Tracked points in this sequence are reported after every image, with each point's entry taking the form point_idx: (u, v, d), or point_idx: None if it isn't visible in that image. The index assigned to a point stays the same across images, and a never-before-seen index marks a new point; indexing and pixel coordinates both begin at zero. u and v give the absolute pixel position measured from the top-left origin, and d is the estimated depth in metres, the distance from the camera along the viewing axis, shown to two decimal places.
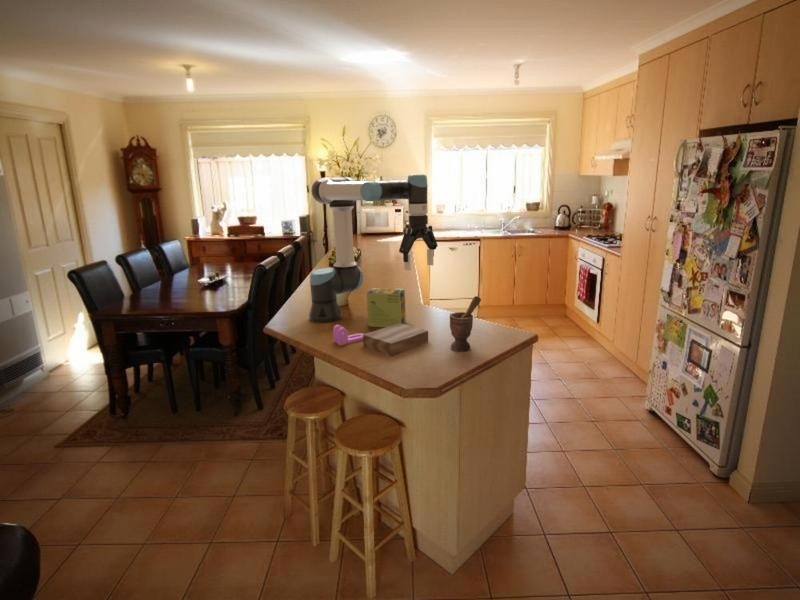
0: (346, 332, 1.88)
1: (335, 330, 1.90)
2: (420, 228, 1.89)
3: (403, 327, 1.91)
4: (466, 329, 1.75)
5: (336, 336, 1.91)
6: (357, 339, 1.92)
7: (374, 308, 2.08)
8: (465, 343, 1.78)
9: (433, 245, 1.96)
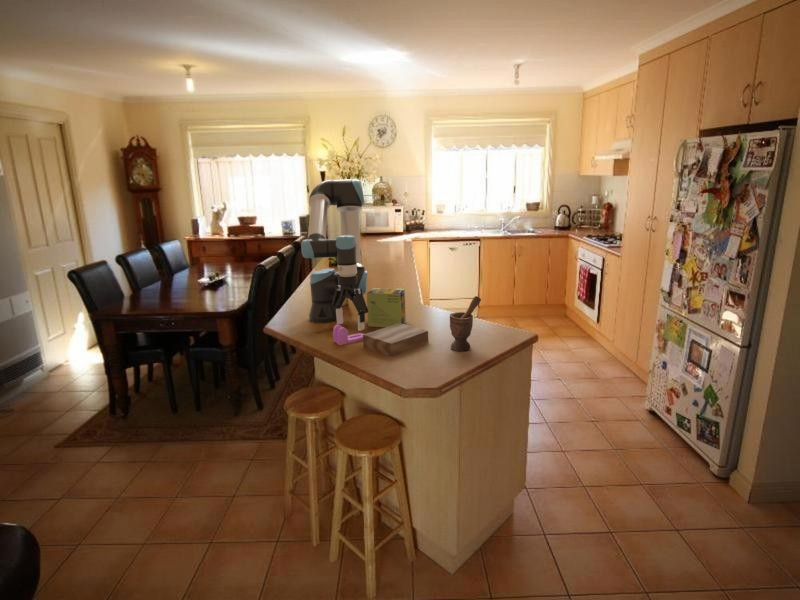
0: (346, 332, 1.88)
1: (335, 330, 1.90)
2: (346, 288, 1.87)
3: (403, 327, 1.91)
4: (466, 329, 1.75)
5: (336, 336, 1.91)
6: (357, 339, 1.92)
7: (374, 308, 2.08)
8: (465, 343, 1.78)
9: (359, 310, 1.84)
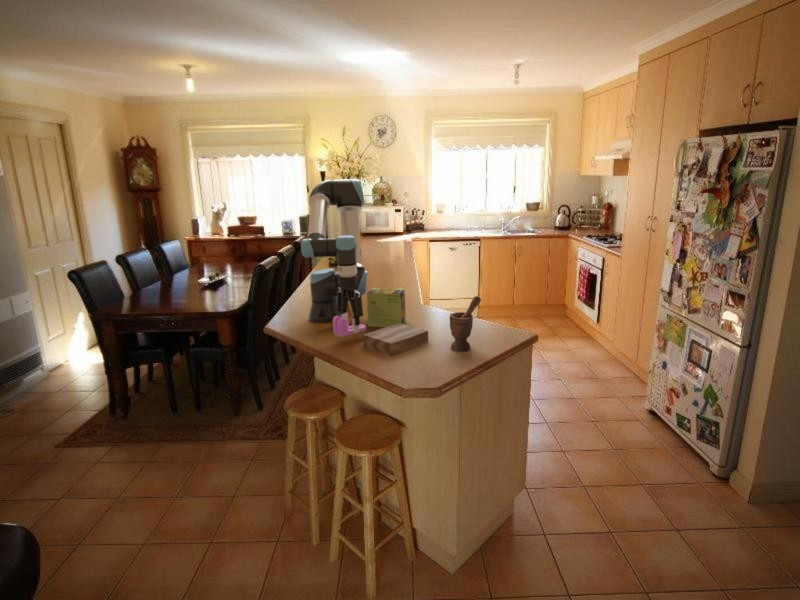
0: (346, 323, 1.88)
1: (335, 321, 1.90)
2: (346, 288, 1.88)
3: (403, 327, 1.91)
4: (466, 329, 1.75)
5: (336, 327, 1.91)
6: None
7: (374, 308, 2.08)
8: (465, 343, 1.78)
9: (354, 314, 1.87)
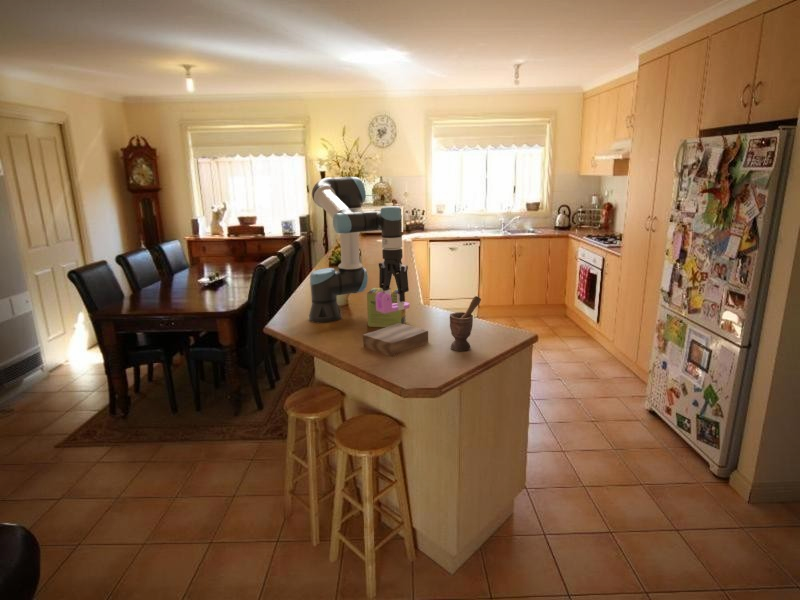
0: (390, 299, 1.78)
1: (378, 297, 1.79)
2: (390, 263, 1.78)
3: (403, 327, 1.91)
4: (466, 329, 1.75)
5: (379, 304, 1.80)
6: None
7: (374, 308, 2.08)
8: (465, 343, 1.78)
9: (399, 289, 1.77)
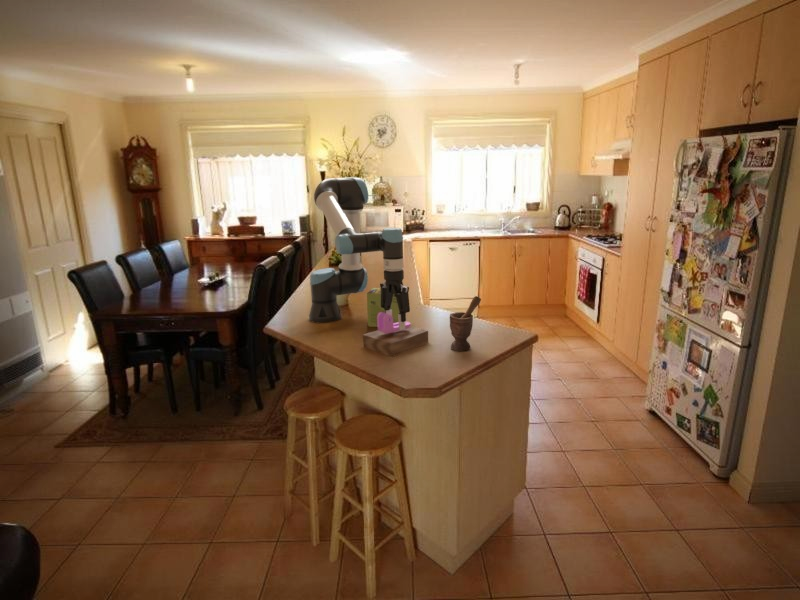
0: (391, 319, 1.80)
1: (379, 317, 1.81)
2: (392, 283, 1.80)
3: None
4: (466, 329, 1.75)
5: (380, 324, 1.82)
6: None
7: (374, 308, 2.08)
8: (465, 343, 1.78)
9: (401, 310, 1.79)
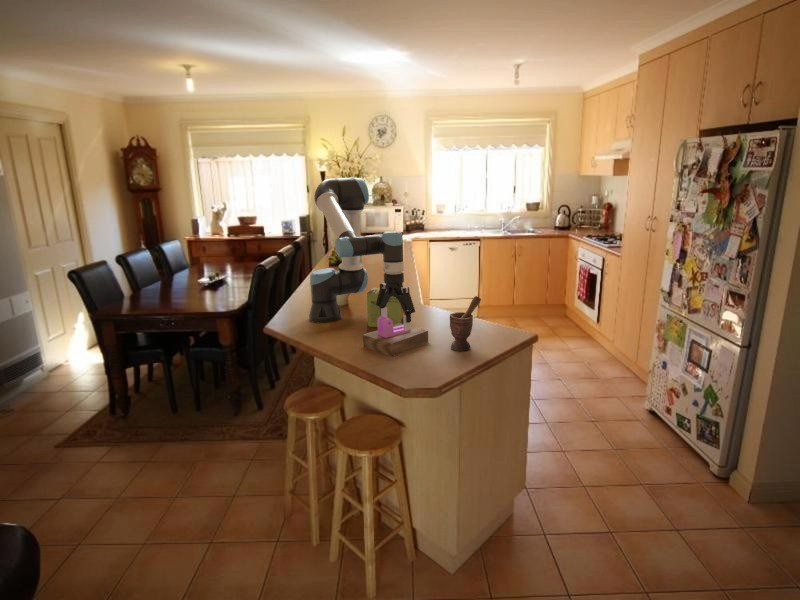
0: (392, 323, 1.80)
1: (379, 322, 1.82)
2: (392, 286, 1.80)
3: None
4: (466, 329, 1.75)
5: (380, 328, 1.83)
6: (402, 331, 1.84)
7: (374, 308, 2.08)
8: (465, 343, 1.78)
9: (405, 310, 1.77)
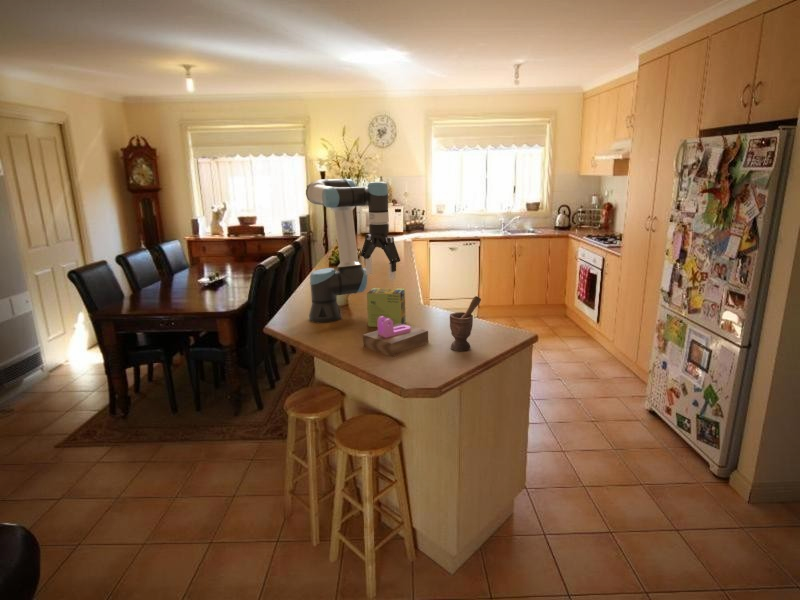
0: (392, 323, 1.80)
1: (380, 321, 1.82)
2: (377, 237, 1.83)
3: None
4: (466, 329, 1.75)
5: (380, 328, 1.83)
6: (402, 331, 1.84)
7: (374, 308, 2.08)
8: (465, 343, 1.78)
9: (391, 259, 1.80)
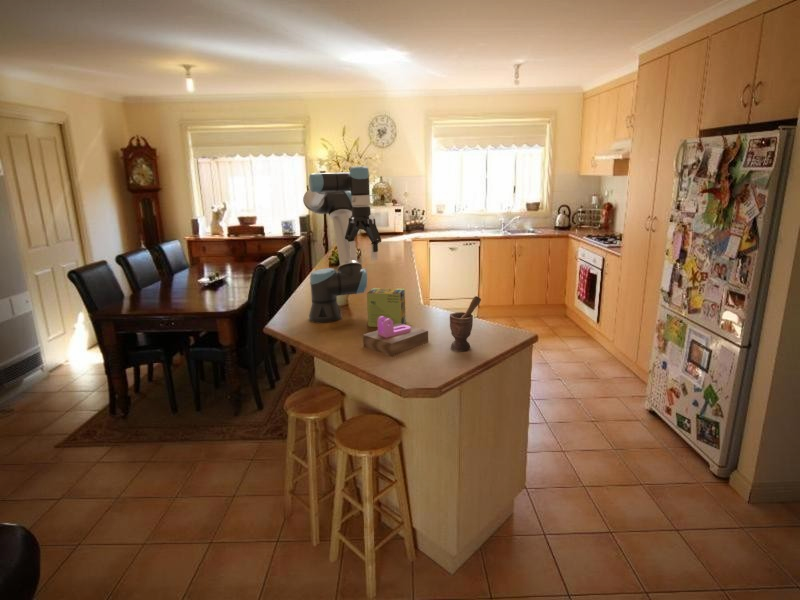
0: (392, 323, 1.80)
1: (380, 321, 1.82)
2: (359, 219, 1.92)
3: None
4: (466, 329, 1.75)
5: (380, 328, 1.83)
6: (402, 331, 1.84)
7: (374, 308, 2.08)
8: (465, 343, 1.78)
9: (372, 240, 1.89)
